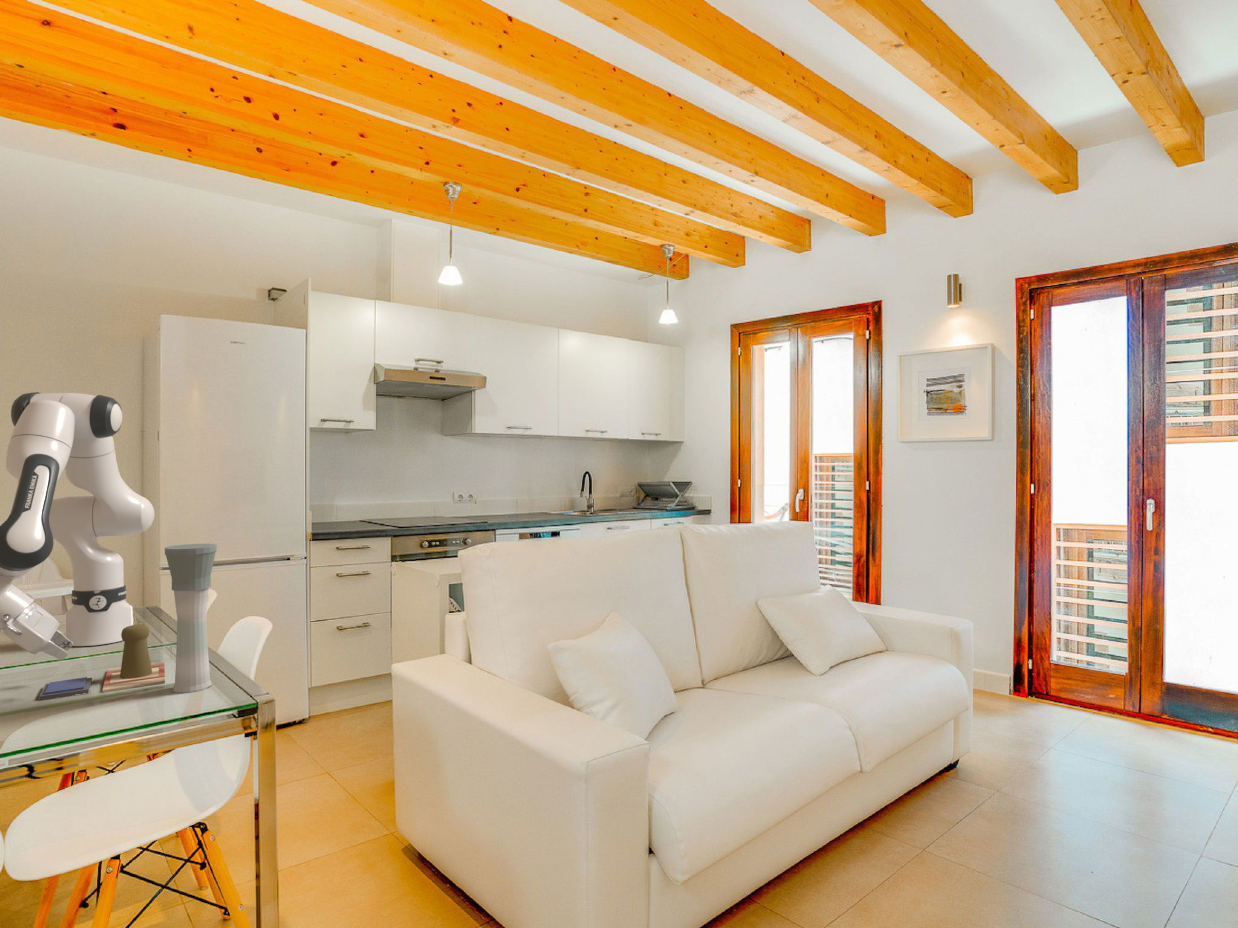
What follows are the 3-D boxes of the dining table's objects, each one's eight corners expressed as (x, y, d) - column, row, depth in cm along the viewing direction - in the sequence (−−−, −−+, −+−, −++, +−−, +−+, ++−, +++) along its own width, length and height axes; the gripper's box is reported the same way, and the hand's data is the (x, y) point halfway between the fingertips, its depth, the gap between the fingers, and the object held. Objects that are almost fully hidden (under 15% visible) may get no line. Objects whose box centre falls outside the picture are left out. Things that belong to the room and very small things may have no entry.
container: (157, 690, 152) (155, 547, 152) (202, 678, 160) (200, 542, 160) (182, 697, 147) (180, 549, 147) (227, 684, 155) (225, 544, 155)
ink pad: (45, 687, 155) (45, 681, 155) (91, 680, 159) (91, 675, 159) (39, 700, 146) (39, 694, 146) (88, 693, 150) (88, 687, 150)
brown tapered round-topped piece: (135, 679, 158) (134, 629, 158) (112, 677, 159) (111, 628, 159) (158, 671, 164) (157, 622, 164) (136, 669, 165) (135, 621, 165)
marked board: (107, 671, 166) (107, 668, 166) (164, 663, 172) (164, 661, 172) (102, 692, 151) (102, 689, 151) (164, 682, 157) (164, 680, 157)
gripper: (13, 608, 142) (76, 650, 147) (29, 592, 159) (85, 631, 165) (-16, 634, 140) (48, 676, 145) (3, 615, 157) (60, 653, 162)
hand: (68, 651), depth 155 cm, fingers open, 8 cm apart
